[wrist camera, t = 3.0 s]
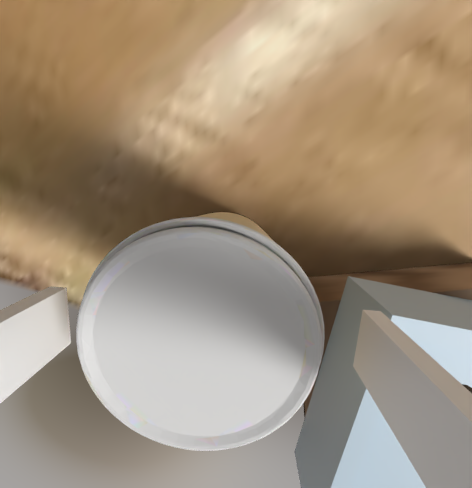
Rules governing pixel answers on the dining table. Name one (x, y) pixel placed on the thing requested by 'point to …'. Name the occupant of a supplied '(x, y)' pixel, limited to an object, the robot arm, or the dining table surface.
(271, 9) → the dining table surface
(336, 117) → the dining table surface
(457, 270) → the block bottom
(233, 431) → the coffee cup
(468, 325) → the block top
